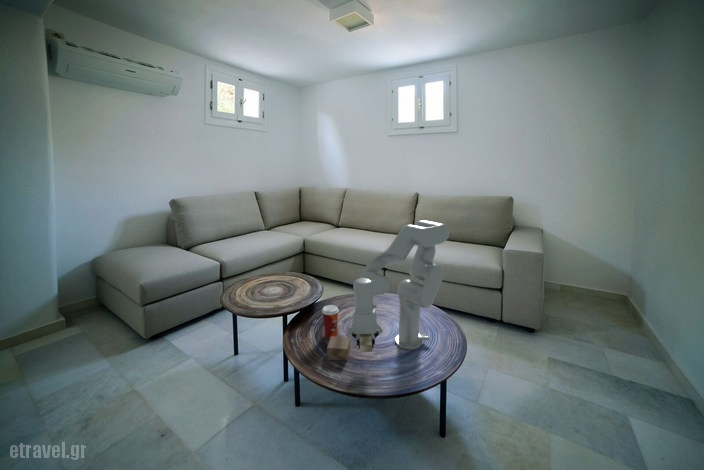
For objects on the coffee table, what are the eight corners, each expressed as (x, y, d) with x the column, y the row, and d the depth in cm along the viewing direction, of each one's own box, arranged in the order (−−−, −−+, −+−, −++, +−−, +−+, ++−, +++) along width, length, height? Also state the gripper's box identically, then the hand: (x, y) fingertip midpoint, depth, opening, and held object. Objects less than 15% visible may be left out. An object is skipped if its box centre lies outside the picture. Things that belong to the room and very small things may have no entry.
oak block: (371, 344, 131) (371, 329, 129) (372, 351, 126) (371, 336, 124) (360, 344, 131) (359, 330, 129) (360, 351, 126) (359, 337, 124)
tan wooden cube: (350, 348, 141) (350, 337, 140) (347, 361, 133) (347, 349, 131) (331, 347, 143) (331, 336, 141) (327, 359, 134) (327, 347, 133)
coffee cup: (337, 340, 148) (336, 312, 144) (320, 339, 149) (319, 311, 146) (341, 331, 156) (340, 305, 152) (325, 330, 157) (324, 303, 154)
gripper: (384, 302, 127) (385, 340, 132) (343, 304, 127) (346, 341, 132) (385, 311, 120) (386, 351, 124) (342, 313, 120) (345, 352, 125)
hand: (365, 345), depth 128 cm, fingers closed on oak block, 5 cm apart
